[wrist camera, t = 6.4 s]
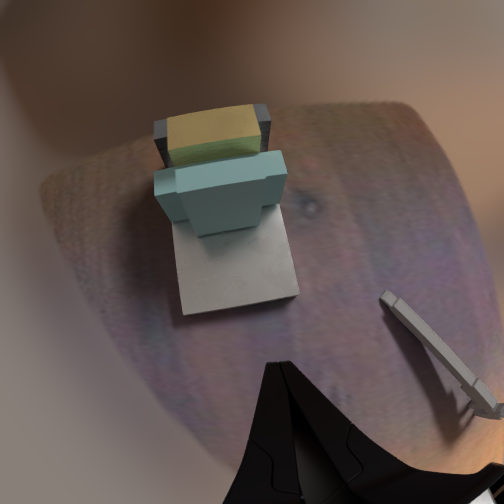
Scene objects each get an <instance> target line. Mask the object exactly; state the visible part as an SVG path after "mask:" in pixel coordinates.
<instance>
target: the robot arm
mask: <svg viewBox="0 0 504 504" xmlns="http://www.w3.org/2000/svg"><path fill="white" fill-rule="evenodd" d="M351 423H352V422H351V421H350V420H349V419H348V418H347V417H346V416H345V415H344V414H343V413H342V412H341V411H340V410H339V409H338V408H336V407H335V406H334V405H333V404H332V403H331V402H330V401H329V400H328V399H327V398H326V397H325V396H324V395H323V394H322V393H321V392H320V391H319V390H318V389H317V388H316V387H315V386H314V385H313V384H312V383H311V381H310V380H309V379H308V378H307V377H306V376H305V375H304V374H303V373H302V372H301V371H300V370H299V369H298V368H297V367H296V366H295V365H294V364H293V363H292V362H291V361H280V362H267V363H266V366H265V370H264V375H263V379H262V384H261V388H260V393H259V397H258V401H257V405H256V410H255V414H254V418H253V422H252V426H251V430H250V434H249V439H248V442H247V446H246V450H245V453H244V456H243V459H242V462H241V465H240V467H239V470H238V472H237V474H236V477H235V479H234V481H233V483H232V485H231V487H230V489H229V491H228V493H227V495H226V497H225V499H224V501H223V503H222V504H504V465H502V464H499V463H493V462H491V463H489V464H488V465H487V466H485V467H484V468H483V469H481V470H480V471H479V472H477V473H474V474H449V473H439V472H431V471H423V470H419V469H415V468H413V467H410V466H408V465H407V464H405V463H403V462H402V461H400V460H399V459H397V458H396V457H394V456H393V455H392V454H390V453H389V452H387V451H386V450H384V449H383V448H381V447H380V446H379V445H377V444H376V443H375V442H373V441H372V440H371V439H370V438H368V437H367V436H366V435H365V434H364V433H363V432H362V431H360V430H359V429H358V428H357V427H356V426H355V425H354V424H351Z"/></svg>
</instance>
